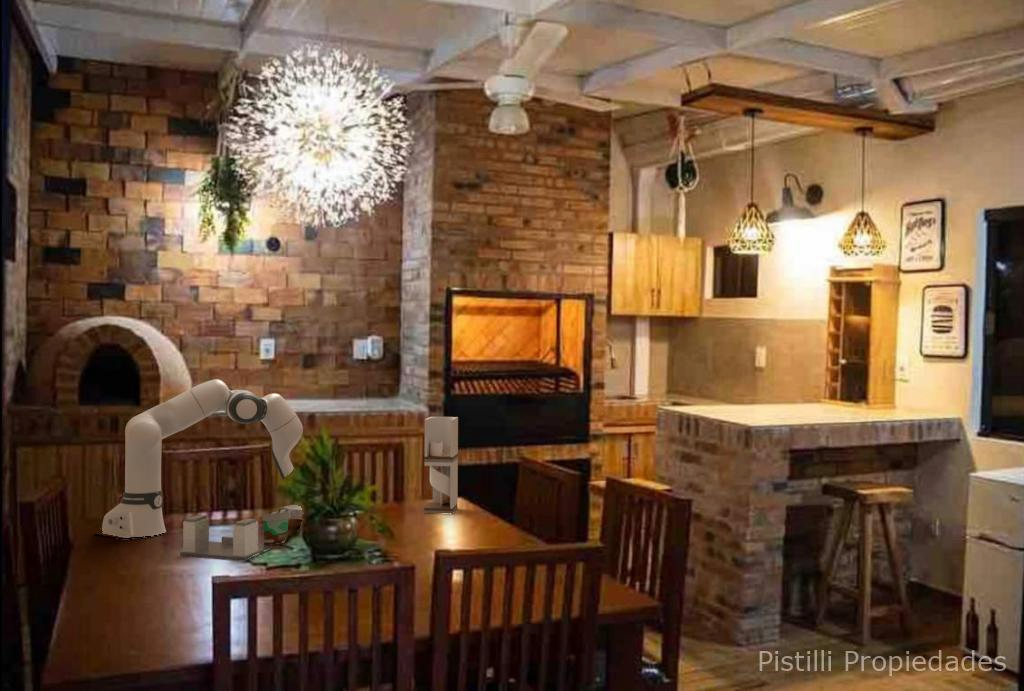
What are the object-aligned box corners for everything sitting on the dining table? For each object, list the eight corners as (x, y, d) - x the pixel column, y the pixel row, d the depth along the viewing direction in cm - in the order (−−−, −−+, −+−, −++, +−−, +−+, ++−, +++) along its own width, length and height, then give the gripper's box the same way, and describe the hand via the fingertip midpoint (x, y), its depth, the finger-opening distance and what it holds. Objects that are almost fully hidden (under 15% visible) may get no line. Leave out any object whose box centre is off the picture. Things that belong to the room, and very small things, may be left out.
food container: (280, 546, 285) (280, 514, 285) (261, 545, 286) (262, 514, 286) (297, 538, 297) (297, 507, 297) (279, 537, 298) (279, 506, 298)
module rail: (180, 555, 273) (180, 519, 273) (209, 544, 287) (209, 510, 287) (245, 561, 267) (245, 524, 267) (272, 549, 281) (272, 514, 281)
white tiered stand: (430, 507, 351) (430, 416, 350) (457, 508, 350) (457, 417, 349) (424, 513, 340) (424, 419, 339) (452, 514, 338) (453, 419, 338)
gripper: (293, 499, 320) (272, 506, 307) (346, 502, 315) (327, 509, 302) (293, 517, 321) (272, 524, 307) (346, 520, 315) (327, 528, 302)
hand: (300, 517), depth 304 cm, fingers open, 8 cm apart
